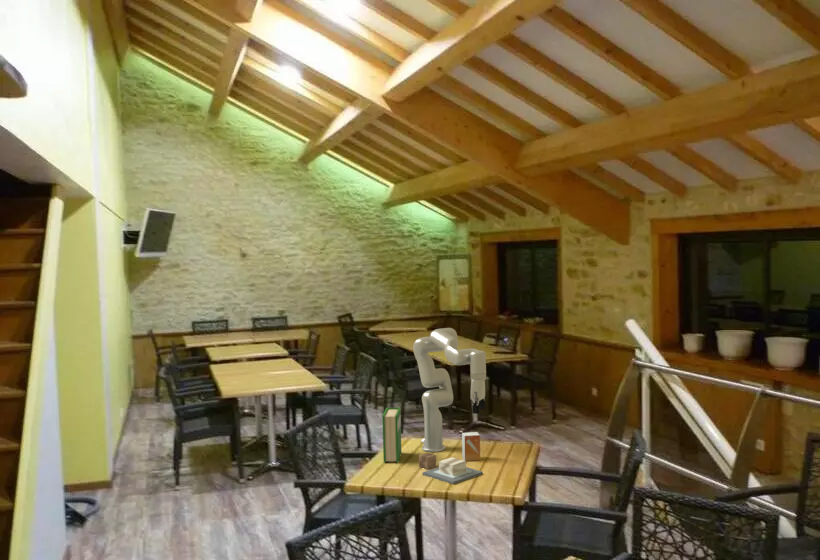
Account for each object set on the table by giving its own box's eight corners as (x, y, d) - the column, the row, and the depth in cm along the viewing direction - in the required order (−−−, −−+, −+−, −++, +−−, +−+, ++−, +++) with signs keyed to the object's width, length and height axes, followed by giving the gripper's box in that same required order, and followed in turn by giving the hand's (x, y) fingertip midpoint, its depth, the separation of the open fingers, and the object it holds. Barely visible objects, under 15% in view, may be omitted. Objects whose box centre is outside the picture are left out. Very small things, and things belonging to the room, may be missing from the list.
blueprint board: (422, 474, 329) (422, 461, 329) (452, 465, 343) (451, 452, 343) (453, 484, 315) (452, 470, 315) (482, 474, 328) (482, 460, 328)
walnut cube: (418, 467, 342) (418, 455, 341) (427, 464, 346) (427, 452, 345) (427, 469, 337) (427, 457, 337) (436, 467, 341) (436, 455, 341)
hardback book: (398, 463, 349) (397, 415, 348) (383, 463, 350) (382, 415, 349) (401, 452, 367) (400, 407, 366) (387, 452, 367) (386, 407, 366)
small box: (464, 461, 349) (464, 435, 348) (462, 457, 355) (461, 432, 355) (480, 460, 350) (480, 434, 349) (477, 456, 356) (477, 431, 356)
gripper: (476, 372, 347) (476, 406, 348) (465, 379, 331) (466, 414, 332) (490, 373, 344) (491, 407, 345) (480, 379, 328) (481, 415, 329)
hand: (478, 411), depth 339 cm, fingers open, 9 cm apart
